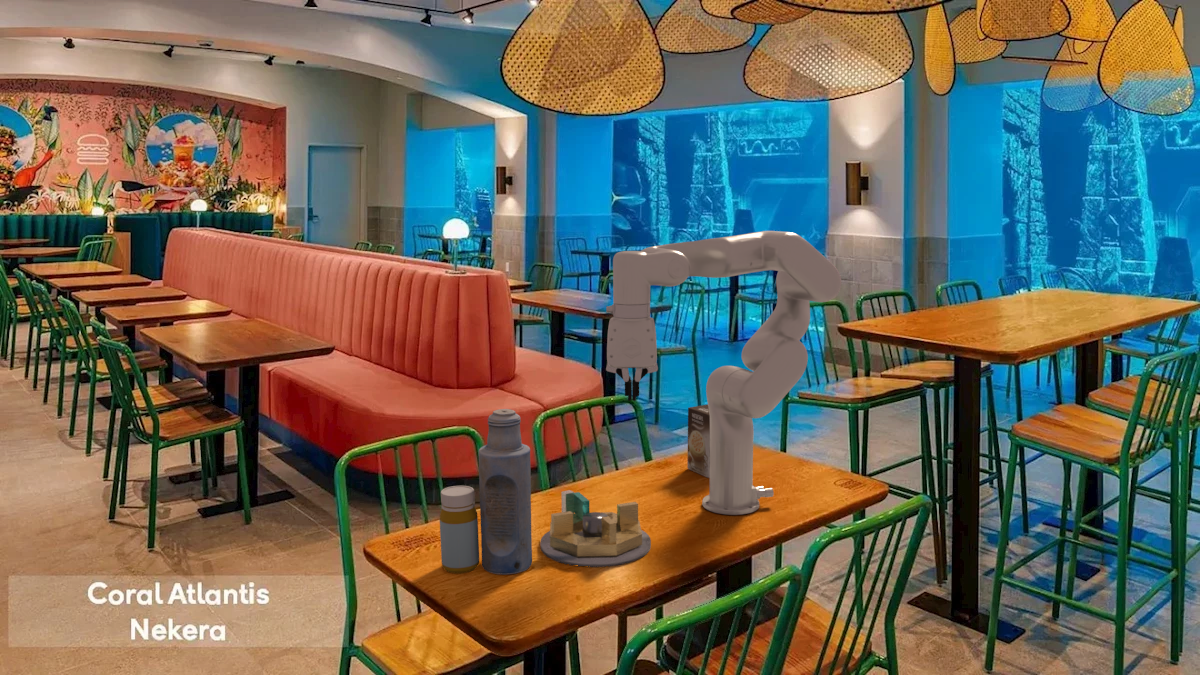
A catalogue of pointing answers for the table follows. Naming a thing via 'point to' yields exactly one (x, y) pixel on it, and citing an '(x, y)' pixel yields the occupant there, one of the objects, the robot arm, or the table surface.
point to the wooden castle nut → (616, 530)
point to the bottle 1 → (459, 530)
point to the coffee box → (699, 440)
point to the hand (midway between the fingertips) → (632, 399)
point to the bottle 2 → (505, 496)
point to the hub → (591, 529)
